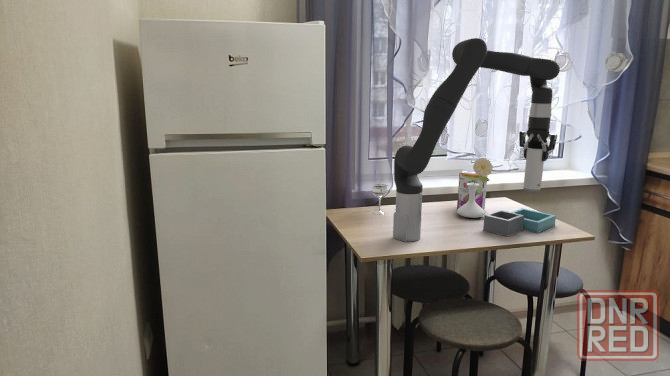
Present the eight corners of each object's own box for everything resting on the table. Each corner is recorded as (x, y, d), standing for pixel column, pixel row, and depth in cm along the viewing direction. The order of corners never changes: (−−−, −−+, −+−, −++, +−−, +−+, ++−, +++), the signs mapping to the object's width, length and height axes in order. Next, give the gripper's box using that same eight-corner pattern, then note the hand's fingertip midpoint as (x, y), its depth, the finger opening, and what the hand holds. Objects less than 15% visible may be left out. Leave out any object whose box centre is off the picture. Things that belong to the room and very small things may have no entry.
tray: (537, 232, 175) (538, 222, 174) (503, 224, 185) (504, 214, 184) (554, 225, 183) (555, 215, 182) (521, 217, 194) (522, 208, 193)
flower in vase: (455, 218, 192) (458, 158, 187) (458, 211, 203) (461, 154, 197) (488, 221, 188) (493, 160, 182) (489, 214, 198) (494, 156, 193)
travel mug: (543, 192, 177) (548, 140, 173) (524, 192, 178) (530, 140, 174) (539, 189, 183) (545, 138, 179) (521, 188, 184) (526, 137, 180)
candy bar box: (456, 208, 207) (458, 172, 203) (460, 205, 211) (462, 170, 207) (481, 212, 201) (484, 175, 197) (485, 209, 205) (487, 173, 202)
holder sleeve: (507, 236, 170) (508, 221, 169) (483, 230, 178) (484, 214, 176) (522, 230, 177) (524, 215, 176) (498, 224, 185) (500, 209, 183)
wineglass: (388, 215, 197) (388, 187, 194) (372, 214, 197) (372, 187, 195) (386, 210, 204) (387, 183, 201) (371, 210, 204) (371, 183, 201)
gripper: (516, 114, 177) (512, 158, 181) (554, 117, 167) (549, 163, 170) (526, 114, 182) (522, 156, 186) (563, 116, 171) (558, 161, 175)
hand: (535, 159), depth 178 cm, fingers closed on travel mug, 6 cm apart
